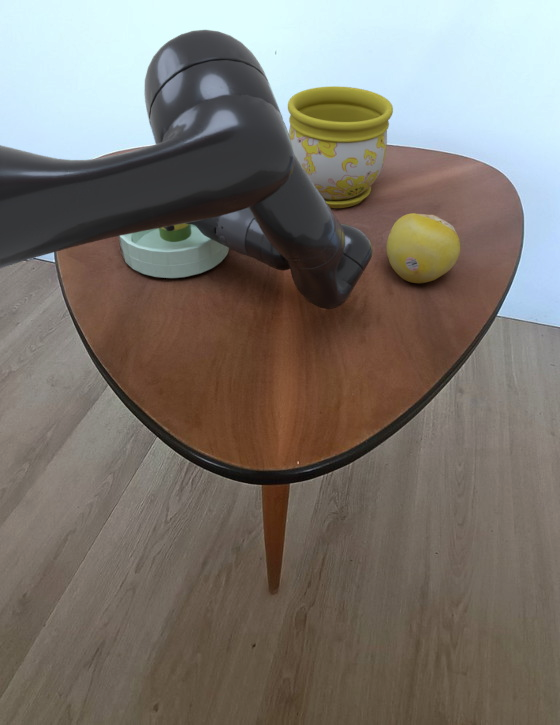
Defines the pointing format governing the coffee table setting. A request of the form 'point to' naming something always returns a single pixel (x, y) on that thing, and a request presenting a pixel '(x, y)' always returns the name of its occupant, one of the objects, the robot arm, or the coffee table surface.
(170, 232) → the corn cob
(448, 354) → the coffee table surface
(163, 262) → the basin
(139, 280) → the coffee table surface
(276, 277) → the coffee table surface
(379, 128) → the flowerpot
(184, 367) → the coffee table surface
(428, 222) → the fruit
